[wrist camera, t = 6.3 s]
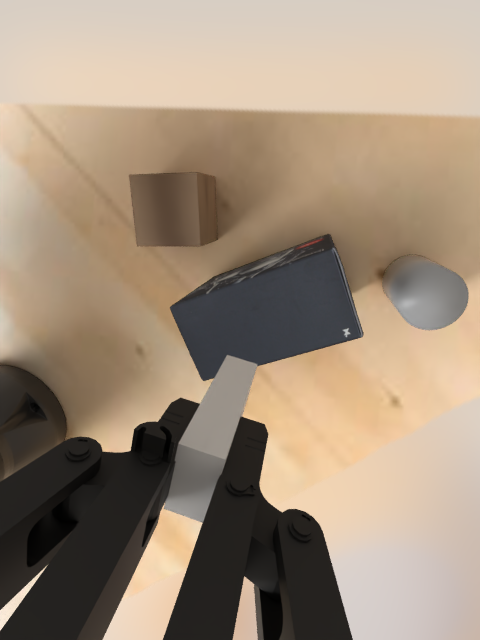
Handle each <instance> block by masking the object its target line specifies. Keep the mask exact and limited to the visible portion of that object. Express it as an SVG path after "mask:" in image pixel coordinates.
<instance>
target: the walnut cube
mask: <svg viewBox="0 0 480 640" xmlns="http://www.w3.org/2000/svg"><path fill="white" fill-rule="evenodd" d="M129 178H130V187H131V196H132V205H133V214H134V223H135V232H136V241H137V246H203V245H205V244H208V243H210V242H213V241H215V240H218V237H217V211H216V185H215V177H214V176H210V175H206V174H202V173H198V172H190V173H163V174H137V175H129Z"/></svg>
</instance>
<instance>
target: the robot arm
mask: <svg viewBox="0 0 480 640" xmlns="http://www.w3.org/2000/svg"><path fill="white" fill-rule="evenodd" d="M256 368H257V364H255V363H252V362H249V361H245V360H242V359H239V358H236V357H233V356H229V355H227V356H226V358H225V360H224V362H223V363H222V365H221V367H220V369H219V371H218V372H217V374H216V376H215V378H214V380H213V382H212V383H211V385H210V387H209V389H208V391H207V392H206V394H205V396H204V398H203V400H202V402H201V403H200V404H198V403H195V402H192V401H189V400H186V399H183V398H179V399H177V400H176V401H174V402H172V403H171V404H170V405H169V407H168V408H167V410H166V411H165V413H164V414H163V415H162V417H161V419H160V420H159V421H158V422H146V423H143V424H140V425H139V426H137V427H136V428H135V429H134V434H133V440H132V447H131V451H129V452H124V453H113V452H102V447H101V445H100V444H99V443H98V442H97V441H96V440H94V439H91V438H89V437H75V438H70V439H68V440H66V441H64V439H65V436H66V421H65V416H64V413H63V410H62V408H61V406H60V404H59V402H58V400H57V399H56V397H55V396H54V394H53V393H52V392H51V391H50V389H49V388H48V387H47V386H46V385H45V384H44V383H43V382H41V381H40V380H39V379H38V378H36V377H35V376H33V375H32V374H30V373H28V372H26V371H24V370H22V369H19V368H16V367H12V366H7V365H0V610H1V609H2V608H3V607H4V606H5V605H6V604H7V603H8V602H9V601H10V600H11V599H12V598H13V597H14V596H15V595H16V594H17V593H19V592H20V591H21V590H22V589H23V588H24V587H25V586H26V585H27V584H28V583H29V582H30V581H31V580H32V579H33V578H34V577H35V576H36V575H37V574H38V573H39V572H40V571H42V570H43V569H44V568H45V567H46V566H47V565H48V566H47V567H46V568H45V570H44V571H43V573H42V574H41V575H40V577H39V578H38V580H37V581H36V582H35V584H34V585H33V586H32V588H31V589H30V591H29V592H28V593H27V595H26V596H25V598H24V599H23V600H22V602H21V603H20V604H19V606H18V607H17V609H16V610H15V611H14V613H13V614H12V616H11V617H10V618H9V620H8V621H7V622H6V624H5V625H4V627H3V628H2V629H1V631H0V640H102V639H103V637H104V635H105V633H106V631H107V629H108V627H109V624H110V622H111V620H112V618H113V616H114V614H115V612H116V610H117V608H118V605H119V603H120V601H121V599H122V597H123V595H124V593H125V591H126V589H127V587H128V585H129V582H130V580H131V578H132V576H133V574H134V572H135V570H136V568H137V566H138V563H139V561H140V559H141V557H142V555H143V553H144V551H145V549H146V547H147V545H148V542H149V540H150V538H151V536H152V534H153V532H154V530H155V528H156V526H157V523H158V519H159V515H160V511H161V509H162V507H163V505H164V503H165V506H164V509H166V510H169V511H172V512H175V513H177V514H180V515H183V516H186V517H188V518H191V519H194V520H197V521H200V522H202V523H203V524H202V527H201V530H200V533H199V536H198V539H197V541H196V544H195V547H194V550H193V553H192V556H191V559H190V562H189V565H188V568H187V571H186V574H185V577H184V580H183V582H182V585H181V588H180V591H179V594H178V597H177V600H176V603H175V606H174V609H173V612H172V615H171V618H170V620H169V624H168V627H167V630H166V633H165V635H164V638H163V640H232V639H233V634H234V628H235V623H236V618H237V612H238V607H239V601H240V596H241V590H242V585H243V579H244V576H245V577H246V578H247V579H249V580H250V581H251V582H253V583H254V584H255V585H254V591H255V604H256V605H255V606H256V620H257V633H258V640H353V639H352V635H351V632H350V628H349V625H348V621H347V617H346V614H345V610H344V606H343V603H342V599H341V596H340V592H339V588H338V585H337V581H336V578H335V574H334V570H333V567H332V563H331V560H330V556H329V552H328V549H327V545H326V542H325V538H324V534H323V531H322V530H321V527H320V525H319V524H318V522H317V521H316V520H315V519H314V518H313V517H312V516H310V515H309V514H307V513H306V512H304V511H301V510H297V509H288V510H286V511H284V512H283V513H282V512H280V511H279V510H277V509H276V508H275V507H273V506H272V505H271V504H270V503H268V502H267V500H266V499H265V498H264V497H263V495H262V493H261V490H260V487H259V481H260V476H261V470H262V465H263V460H264V454H265V449H266V443H267V438H268V432H267V429H266V427H265V424H262V423H259V422H256V421H253V420H250V419H247V418H244V417H242V415H243V412H244V408H245V405H246V402H247V398H248V395H249V391H250V388H251V385H252V381H253V378H254V374H255V371H256ZM165 501H166V502H165Z"/></svg>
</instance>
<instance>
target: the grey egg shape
mask: <svg viewBox="0 0 480 640" xmlns="http://www.w3.org/2000/svg"><path fill="white" fill-rule="evenodd" d="M382 287H383V291H384V293H385V295H386V296H387V297H388V299H389V300H390V301H391V303H392V304H393V305H394V307H395V308H396V309H397V310H398V312H399V313H400V314H401V316H402V317H403V318H404V319H405V321H407V322H408V323H409V324H410V325H412V326H414V327H416V328H419V329H423V330H436V329H441V328H444V327H446V326H448V325H450V324H452V323H453V322H455V321H456V320H457V319H458V318H459V317H460V316H461V315H462V313H463V312H464V310H465V308H466V306H467V303H468V289H467V286H466V284H465V282H464V280H463V279H462V278H461V277H460V276H459V275H458V274H456V273H455V272H453V271H451V270H449V269H447V268H445V267H443V266H441V265H439V264H437V263H435V262H433V261H431V260H429V259H427V258H425V257H423V256H419V255H407V256H403V257H400V258H398V259H396V260H395V261H394V262H392V263H391V264H390V265H389V266H388V267H387V269H386V271H385V273H384V275H383V279H382Z"/></svg>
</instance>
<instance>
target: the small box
mask: <svg viewBox="0 0 480 640" xmlns="http://www.w3.org/2000/svg"><path fill="white" fill-rule="evenodd" d="M170 309H171V312H172V314H173V317H174V319H175V321H176V323H177V326H178V328H179V330H180V332H181V335H182V337H183V339H184V341H185V344H186V346H187V348H188V350H189V353H190V355H191V357H192V359H193V361H194V363H195V366H196V368H197V370H198V372H199V375H200V377H201V379H202V380H203V381H206V380H209V379H212V378H215V376H216V374H217V372H218V371H219V369H220V367H221V365H222V363H223V362H224V360H225V358H226V356H227V355H229V356H233V357H236V358H239V359H242V360H245V361H249V362H252V363H255V364H257V366H260V365H263V364H267V363H271V362H274V361H277V360H281V359H285V358H288V357H292V356H296V355H300V354H303V353H307V352H310V351H314V350H318V349H321V348H325V347H329V346H332V345H336V344H339V343H343V342H346V341H350V340H354V339H357V338H361V337H363V331H362V327H361V324H360V321H359V318H358V315H357V312H356V308H355V305H354V301H353V298H352V294H351V291H350V288H349V285H348V282H347V278H346V275H345V272H344V268H343V265H342V263H341V260H340V257H339V255H338V252H337V250H336V247H335V245H334V243H333V240H332V237H331V235H330V234H327V235H324V236H321V237H318V238H316V239H313V240H311V241H308V242H305V243H303V244H300V245H297V246H295V247H292V248H289V249H287V250H284V251H281V252H279V253H276V254H273V255H271V256H268V257H266V258H263V259H260V260H257V261H255V262H252V263H250V264H247V265H244V266H242V267H239V268H236V269H234V270H231V271H228V272H226V273H223V274H220V275H218V276H215V277H213V278H211V279H210V280H209V281H207V282H206V283H204V284H203V285H201V286H200V287H198V288H197V289H195V290H194V291H193V292H191V293H189V294H188V295H187V296H185V297H184V298H182V299H181V300H179V301H178V302H177V303H175V304H174V305H172V306H171V307H170Z"/></svg>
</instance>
